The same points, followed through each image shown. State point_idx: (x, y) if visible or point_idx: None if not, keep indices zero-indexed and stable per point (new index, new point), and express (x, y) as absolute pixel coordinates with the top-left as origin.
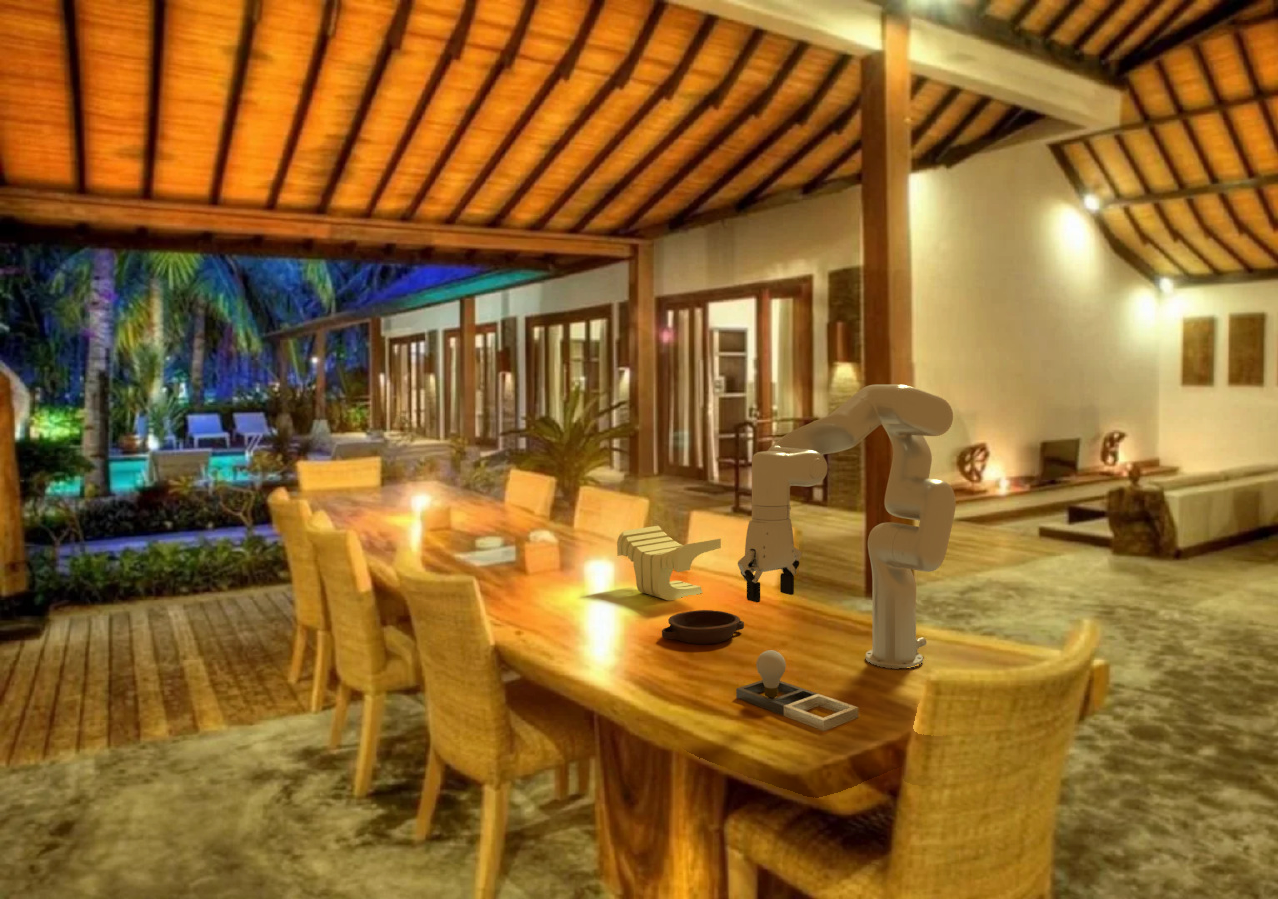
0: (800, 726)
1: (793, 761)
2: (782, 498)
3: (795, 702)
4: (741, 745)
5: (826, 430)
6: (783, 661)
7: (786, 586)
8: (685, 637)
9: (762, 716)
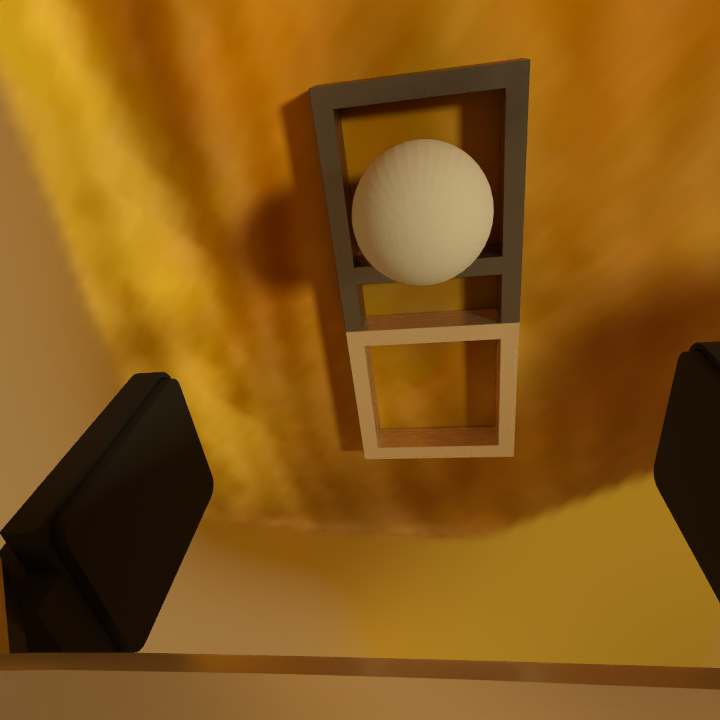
0: (340, 390)
1: None
2: None
3: (396, 334)
4: None
5: None
6: (447, 279)
7: (703, 484)
8: None
9: (294, 281)
